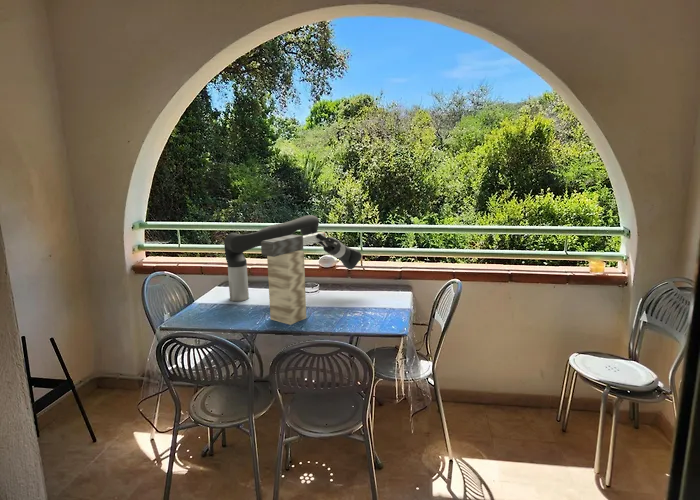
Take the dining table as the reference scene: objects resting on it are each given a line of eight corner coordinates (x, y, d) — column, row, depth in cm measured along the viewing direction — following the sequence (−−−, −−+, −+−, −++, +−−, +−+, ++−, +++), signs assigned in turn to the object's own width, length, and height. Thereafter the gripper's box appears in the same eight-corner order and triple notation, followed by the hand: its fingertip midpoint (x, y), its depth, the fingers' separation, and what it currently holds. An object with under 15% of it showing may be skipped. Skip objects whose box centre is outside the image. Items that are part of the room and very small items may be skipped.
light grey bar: (289, 249, 192) (289, 240, 191) (283, 248, 194) (283, 239, 193) (325, 240, 211) (325, 232, 210) (319, 239, 213) (319, 232, 212)
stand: (280, 329, 186) (276, 243, 179) (260, 323, 193) (255, 240, 186) (310, 316, 201) (308, 236, 194) (291, 311, 208) (287, 233, 201)
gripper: (325, 239, 225) (304, 226, 211) (348, 242, 216) (328, 228, 203) (321, 253, 223) (300, 241, 209) (344, 256, 215) (323, 244, 201)
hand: (314, 235), depth 206 cm, fingers closed on light grey bar, 3 cm apart
